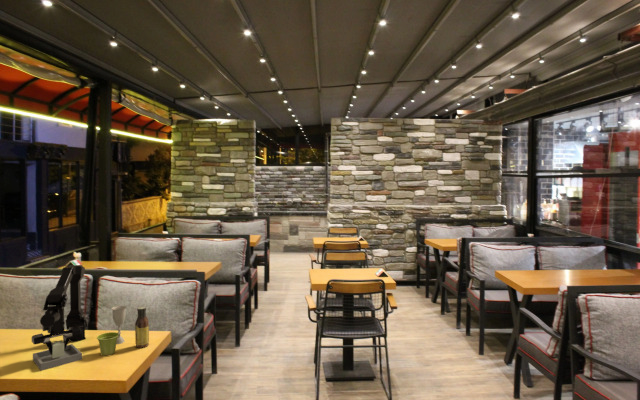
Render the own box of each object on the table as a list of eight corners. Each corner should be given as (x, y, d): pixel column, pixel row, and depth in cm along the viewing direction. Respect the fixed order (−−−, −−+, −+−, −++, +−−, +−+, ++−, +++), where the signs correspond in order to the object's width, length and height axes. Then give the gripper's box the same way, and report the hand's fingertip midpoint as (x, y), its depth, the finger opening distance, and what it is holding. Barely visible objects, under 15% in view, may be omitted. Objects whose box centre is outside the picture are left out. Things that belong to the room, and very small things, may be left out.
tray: (72, 350, 195) (72, 344, 195) (82, 359, 184) (81, 353, 184) (32, 359, 184) (32, 353, 184) (40, 370, 173) (40, 364, 173)
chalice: (130, 340, 208) (129, 306, 207) (119, 345, 201) (119, 310, 201) (119, 339, 210) (118, 305, 210) (108, 343, 204) (108, 308, 203)
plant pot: (123, 351, 194) (123, 333, 194) (105, 358, 185) (105, 340, 185) (110, 348, 198) (110, 331, 198) (92, 355, 189) (92, 337, 189)
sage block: (61, 352, 187) (61, 340, 187) (64, 355, 184) (64, 342, 184) (50, 355, 184) (50, 342, 184) (52, 358, 181) (52, 345, 181)
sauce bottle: (138, 343, 203) (137, 305, 203) (150, 343, 204) (150, 305, 203) (133, 349, 197) (133, 309, 196) (146, 348, 197) (145, 309, 197)
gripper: (74, 311, 196) (75, 342, 196) (28, 320, 182) (29, 353, 183) (81, 316, 188) (81, 349, 189) (34, 326, 175) (34, 361, 175)
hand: (57, 352), depth 184 cm, fingers closed on sage block, 4 cm apart
